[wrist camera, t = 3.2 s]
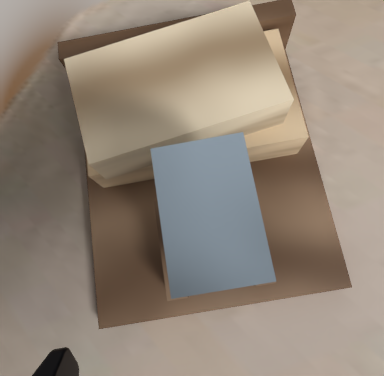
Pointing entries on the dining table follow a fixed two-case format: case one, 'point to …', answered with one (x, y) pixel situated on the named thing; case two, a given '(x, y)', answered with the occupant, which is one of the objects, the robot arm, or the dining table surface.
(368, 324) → the dining table surface
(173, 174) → the tall board
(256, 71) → the offcut stack
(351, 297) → the dining table surface
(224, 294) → the walnut rack
